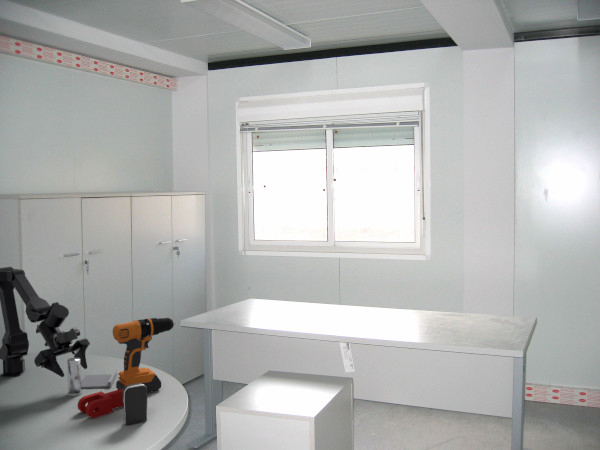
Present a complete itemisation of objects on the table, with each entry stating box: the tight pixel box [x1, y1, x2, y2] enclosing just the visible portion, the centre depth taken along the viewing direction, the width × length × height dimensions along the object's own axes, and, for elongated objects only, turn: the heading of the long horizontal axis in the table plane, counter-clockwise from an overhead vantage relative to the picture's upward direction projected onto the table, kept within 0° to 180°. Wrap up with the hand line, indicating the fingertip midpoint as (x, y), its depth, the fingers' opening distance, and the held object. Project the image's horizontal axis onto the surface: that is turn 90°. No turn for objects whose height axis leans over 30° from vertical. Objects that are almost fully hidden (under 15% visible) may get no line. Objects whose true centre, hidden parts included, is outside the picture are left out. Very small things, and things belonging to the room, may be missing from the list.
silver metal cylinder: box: [67, 357, 82, 398], centre depth 199 cm, size 4×4×12 cm
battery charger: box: [122, 383, 148, 426], centre depth 178 cm, size 7×4×11 cm, turn 125°
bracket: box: [81, 370, 118, 390], centre depth 211 cm, size 11×12×2 cm
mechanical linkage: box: [77, 389, 124, 419], centre depth 187 cm, size 16×7×5 cm, turn 136°
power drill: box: [112, 317, 176, 394], centre depth 203 cm, size 22×7×25 cm, turn 124°
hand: (75, 372), depth 198 cm, fingers open, 9 cm apart
